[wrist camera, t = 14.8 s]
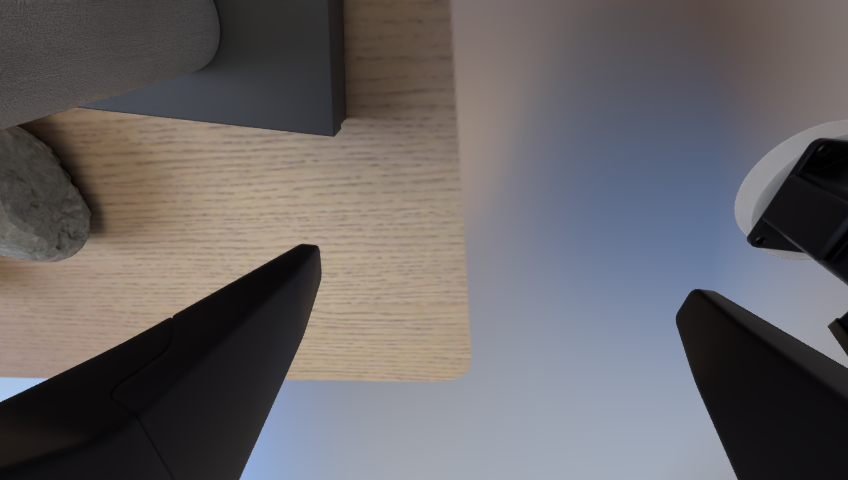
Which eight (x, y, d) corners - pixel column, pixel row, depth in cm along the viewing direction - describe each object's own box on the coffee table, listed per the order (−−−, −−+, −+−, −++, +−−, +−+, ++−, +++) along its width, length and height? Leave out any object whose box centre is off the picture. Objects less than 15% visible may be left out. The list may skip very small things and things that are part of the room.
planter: (95, 14, 16) (-332, 40, 7) (134, -88, 14) (-390, -215, 5) (193, 94, 17) (-66, 193, 9) (241, 13, 15) (-34, 39, 7)
